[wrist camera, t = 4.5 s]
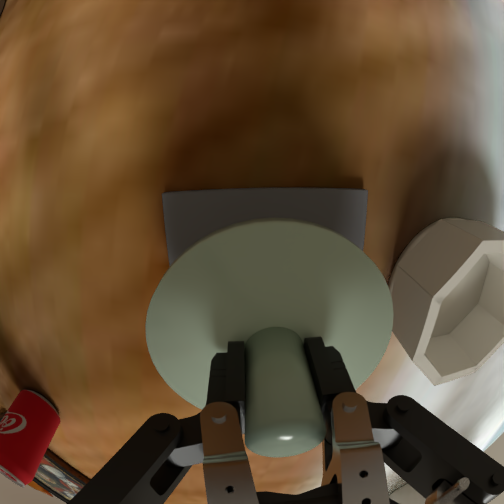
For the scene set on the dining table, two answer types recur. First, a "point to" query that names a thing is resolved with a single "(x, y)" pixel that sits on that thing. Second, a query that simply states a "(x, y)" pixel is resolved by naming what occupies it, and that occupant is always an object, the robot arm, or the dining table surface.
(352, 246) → the lid
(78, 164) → the dining table surface
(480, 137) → the dining table surface
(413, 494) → the vase
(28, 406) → the beverage can
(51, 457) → the religious icon
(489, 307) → the bowl
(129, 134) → the dining table surface
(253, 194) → the mat
